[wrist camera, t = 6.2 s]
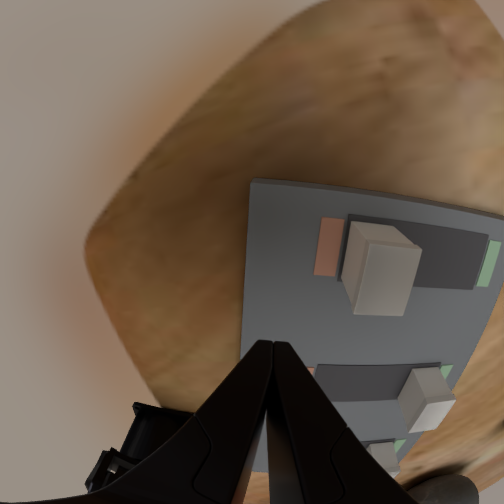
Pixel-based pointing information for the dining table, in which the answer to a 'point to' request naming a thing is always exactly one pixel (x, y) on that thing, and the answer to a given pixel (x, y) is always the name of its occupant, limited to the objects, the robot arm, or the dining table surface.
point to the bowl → (446, 491)
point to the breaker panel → (339, 306)
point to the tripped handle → (379, 269)
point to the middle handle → (425, 399)
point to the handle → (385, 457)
